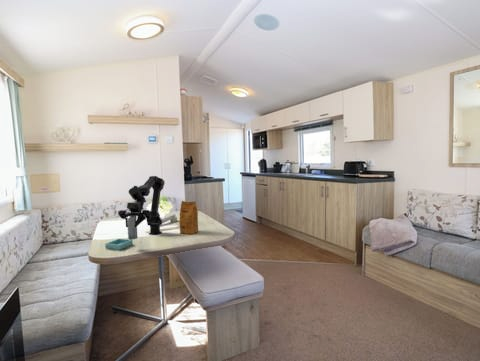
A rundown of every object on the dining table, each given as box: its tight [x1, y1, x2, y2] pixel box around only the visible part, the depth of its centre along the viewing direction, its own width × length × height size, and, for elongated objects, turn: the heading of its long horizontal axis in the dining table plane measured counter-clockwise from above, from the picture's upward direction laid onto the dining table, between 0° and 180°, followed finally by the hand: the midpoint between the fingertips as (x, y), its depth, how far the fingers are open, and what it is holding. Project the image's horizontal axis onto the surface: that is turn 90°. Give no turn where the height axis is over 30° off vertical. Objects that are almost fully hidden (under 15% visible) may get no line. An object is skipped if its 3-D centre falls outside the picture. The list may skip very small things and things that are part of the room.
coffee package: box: [179, 200, 199, 235], centre depth 195 cm, size 10×12×22 cm
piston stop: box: [127, 215, 138, 241], centre depth 163 cm, size 5×5×13 cm
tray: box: [104, 238, 134, 251], centre depth 169 cm, size 11×11×3 cm
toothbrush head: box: [148, 213, 178, 227], centre depth 222 cm, size 5×7×25 cm
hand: (130, 227), depth 162 cm, fingers closed on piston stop, 5 cm apart
